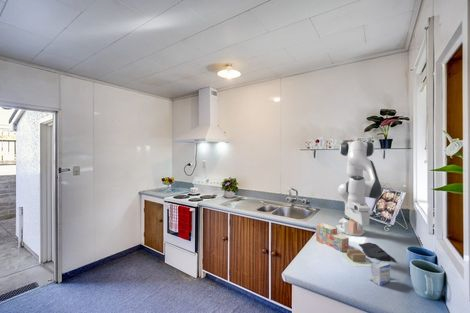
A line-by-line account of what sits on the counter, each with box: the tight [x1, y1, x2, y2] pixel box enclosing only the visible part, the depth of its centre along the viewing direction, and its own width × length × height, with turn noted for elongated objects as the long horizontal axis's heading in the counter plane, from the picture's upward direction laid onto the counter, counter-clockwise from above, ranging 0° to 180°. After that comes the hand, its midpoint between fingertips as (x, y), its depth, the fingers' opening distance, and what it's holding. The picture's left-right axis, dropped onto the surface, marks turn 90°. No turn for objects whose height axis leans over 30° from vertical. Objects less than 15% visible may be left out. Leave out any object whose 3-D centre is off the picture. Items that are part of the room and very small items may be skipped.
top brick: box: [349, 220, 362, 234], centre depth 126 cm, size 5×5×6 cm
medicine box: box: [370, 260, 391, 286], centre depth 106 cm, size 8×4×9 cm, turn 114°
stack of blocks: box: [315, 222, 350, 252], centre depth 145 cm, size 21×6×12 cm, turn 23°
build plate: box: [338, 251, 373, 267], centre depth 126 cm, size 16×12×1 cm
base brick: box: [346, 248, 367, 262], centre depth 126 cm, size 7×7×4 cm
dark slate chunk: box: [358, 242, 397, 263], centre depth 135 cm, size 15×22×5 cm
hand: (355, 228), depth 126 cm, fingers closed on top brick, 5 cm apart
